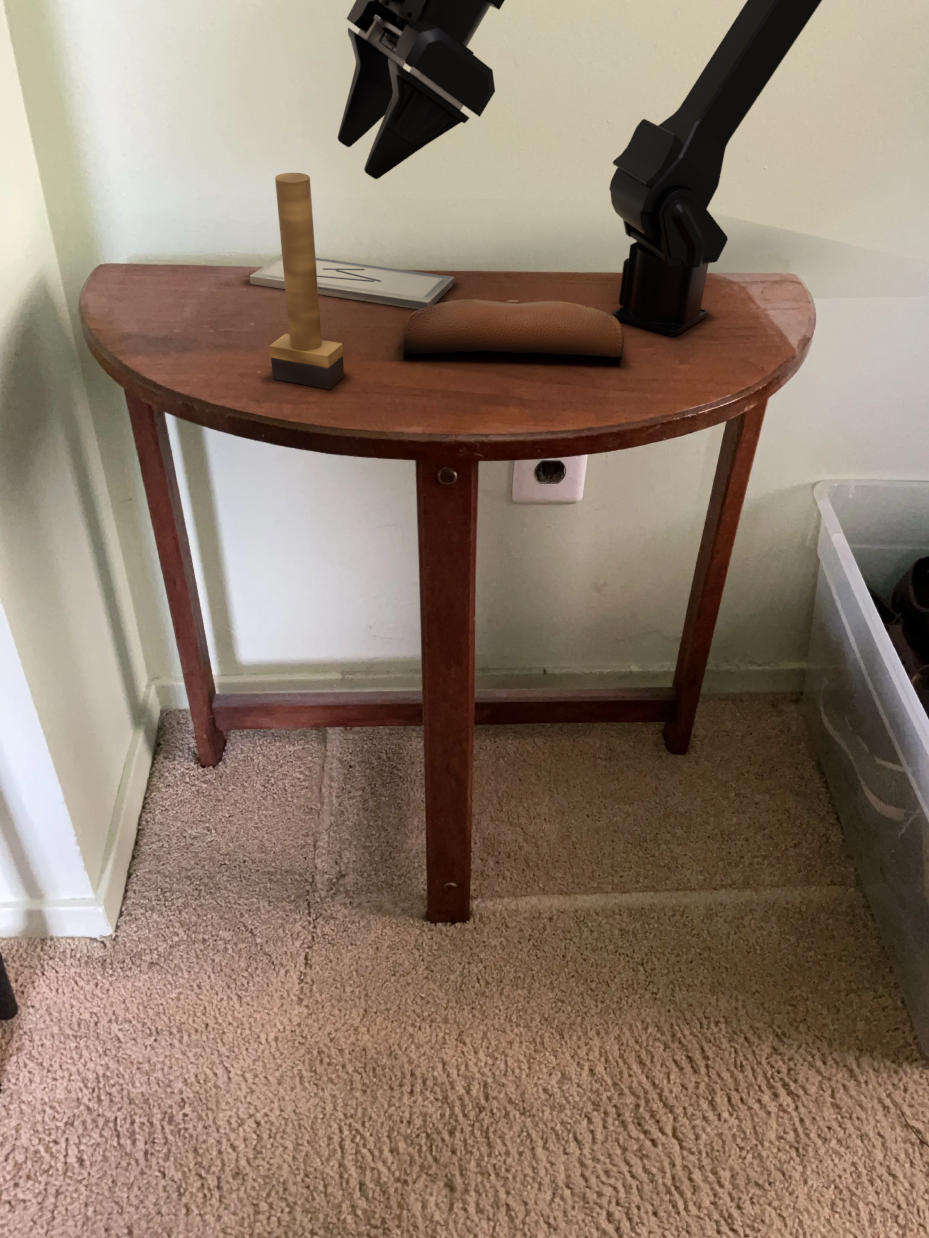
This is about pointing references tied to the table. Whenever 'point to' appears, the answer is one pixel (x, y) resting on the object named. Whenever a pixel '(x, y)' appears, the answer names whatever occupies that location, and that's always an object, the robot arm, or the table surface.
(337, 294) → the board
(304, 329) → the tan piece
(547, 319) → the sunglasses case
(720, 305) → the table surface
